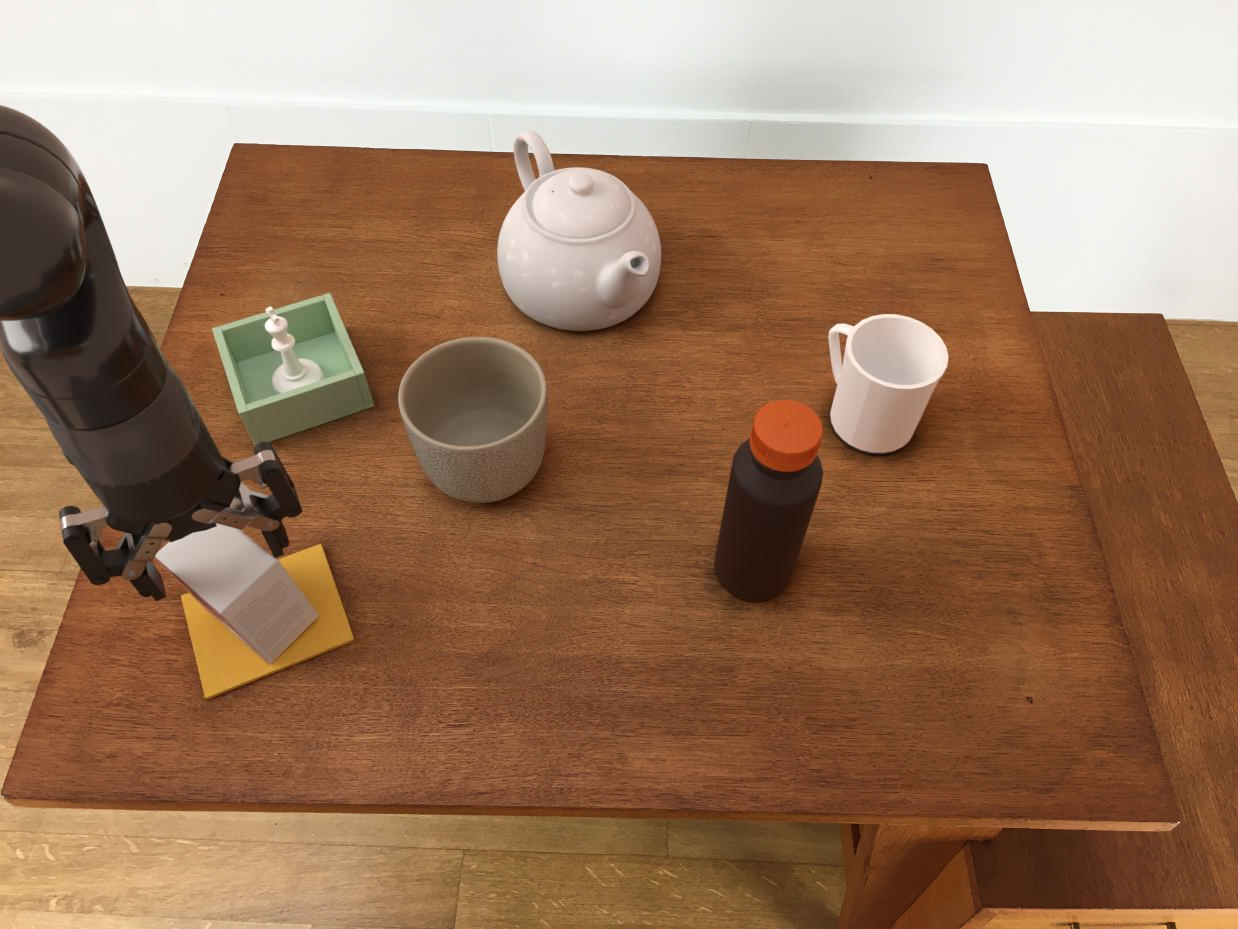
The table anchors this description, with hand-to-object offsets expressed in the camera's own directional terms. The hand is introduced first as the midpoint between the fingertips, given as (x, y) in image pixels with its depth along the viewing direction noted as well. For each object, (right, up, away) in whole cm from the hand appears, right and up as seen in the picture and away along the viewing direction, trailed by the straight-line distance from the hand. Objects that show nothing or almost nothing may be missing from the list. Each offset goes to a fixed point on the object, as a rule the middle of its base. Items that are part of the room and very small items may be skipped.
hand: (219, 568), depth 71 cm
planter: (+17, +7, +19) cm, 26 cm away
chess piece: (-2, +16, +24) cm, 28 cm away
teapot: (+25, +28, +33) cm, 50 cm away
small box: (0, -5, +9) cm, 10 cm away
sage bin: (-2, +16, +24) cm, 29 cm away
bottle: (+41, -1, +12) cm, 43 cm away
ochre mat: (0, -5, +9) cm, 10 cm away
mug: (+53, +12, +22) cm, 59 cm away
